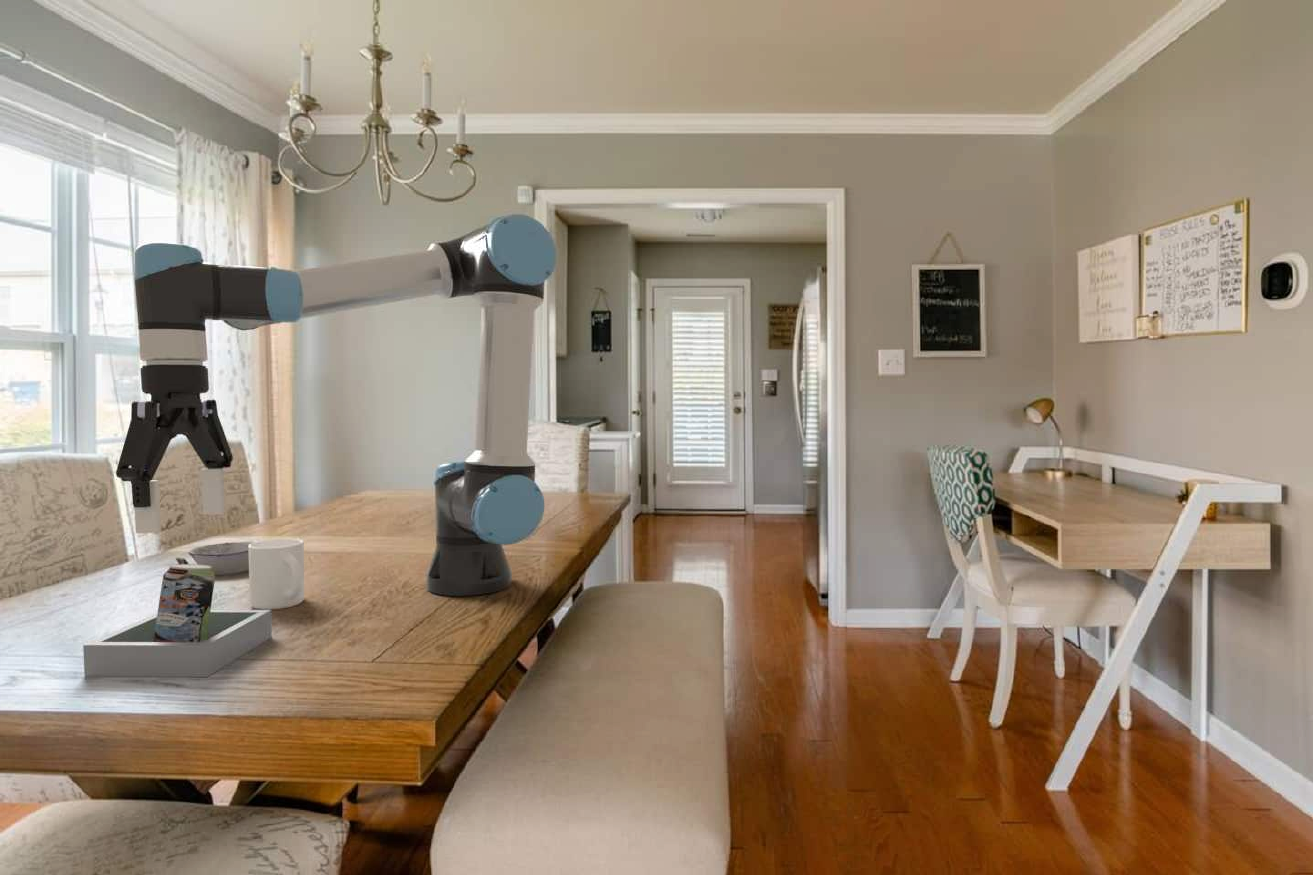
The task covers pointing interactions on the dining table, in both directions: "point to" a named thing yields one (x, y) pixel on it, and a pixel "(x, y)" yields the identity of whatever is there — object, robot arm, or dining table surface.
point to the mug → (276, 573)
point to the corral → (176, 647)
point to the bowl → (223, 557)
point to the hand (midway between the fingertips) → (183, 522)
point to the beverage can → (184, 604)
